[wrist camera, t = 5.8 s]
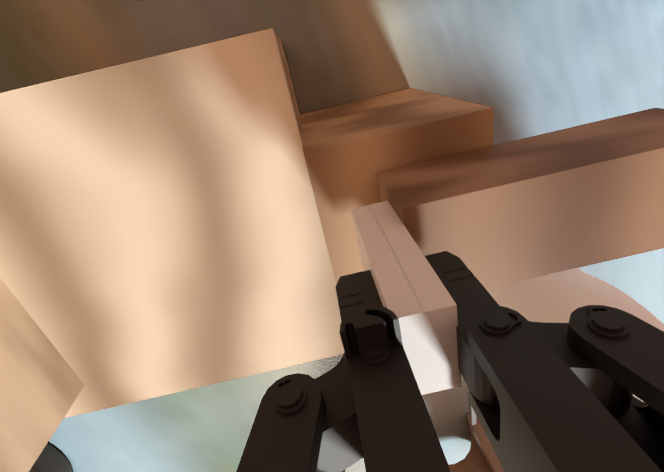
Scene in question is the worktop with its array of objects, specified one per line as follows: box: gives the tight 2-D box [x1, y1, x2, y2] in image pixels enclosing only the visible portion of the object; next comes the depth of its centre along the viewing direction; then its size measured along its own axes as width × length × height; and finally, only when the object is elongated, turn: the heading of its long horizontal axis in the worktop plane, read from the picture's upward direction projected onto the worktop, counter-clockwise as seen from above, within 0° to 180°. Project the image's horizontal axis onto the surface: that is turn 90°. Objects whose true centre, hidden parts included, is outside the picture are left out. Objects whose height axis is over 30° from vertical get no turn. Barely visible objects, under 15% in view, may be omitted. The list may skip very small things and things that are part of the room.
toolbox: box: [274, 31, 493, 285], centre depth 21 cm, size 34×16×12 cm, turn 102°
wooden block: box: [376, 108, 664, 289], centre depth 14 cm, size 12×4×4 cm, turn 102°
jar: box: [486, 268, 664, 402], centre depth 26 cm, size 11×10×15 cm
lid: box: [0, 28, 345, 472], centre depth 14 cm, size 26×16×8 cm, turn 102°
